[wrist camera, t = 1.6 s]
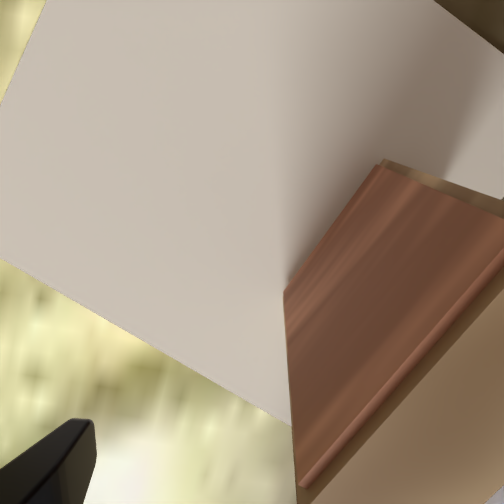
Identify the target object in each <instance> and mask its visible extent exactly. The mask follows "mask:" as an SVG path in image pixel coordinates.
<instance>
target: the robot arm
mask: <svg viewBox="0 0 504 504" xmlns="http://www.w3.org/2000/svg"><path fill="white" fill-rule="evenodd" d="M96 458H97V450H96V439H95V428H94V423H93V421H92V420H90V419H79V418H72V419H69V420H68V421H66V422H65V423H63V424H62V425H61V426H59V427H58V428H56V429H55V430H54V431H52V432H51V433H50V434H48V435H47V436H45V437H44V438H43V439H41V440H40V441H38V442H37V443H36V444H34V445H33V446H31V447H30V448H29V449H27V450H26V451H24V452H23V453H22V454H20V455H19V456H18V457H16V458H15V459H13V460H12V461H11V462H9V463H8V464H6V465H5V466H4V467H2V468H1V469H0V504H83V502H84V499H85V496H86V493H87V490H88V486H89V483H90V480H91V477H92V474H93V471H94V467H95V464H96Z"/></svg>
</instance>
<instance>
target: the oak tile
mask: <svg viewBox="0 0 504 504" xmlns="http://www.w3.org/2000/svg"><path fill="white" fill-rule="evenodd" d="M283 311H284V325H285V339H286V353H287V368H288V382H289V396H290V410H291V425H292V439H293V453H294V467H295V482H296V496H297V504H484V503H485V502H486V501H487V500H488V499H489V498H490V497H492V496H493V495H494V494H495V493H496V492H497V491H498V490H499V489H500V488H501V487H502V486H503V485H504V201H503V200H500V199H497V198H494V197H491V196H488V195H486V194H483V193H480V192H477V191H474V190H472V189H469V188H466V187H463V186H460V185H458V184H455V183H452V182H449V181H446V180H443V179H441V178H438V177H435V176H432V175H429V174H427V173H424V172H421V171H418V170H415V169H413V168H410V167H407V166H404V165H401V164H398V163H396V162H393V161H390V160H387V159H383V160H382V162H381V163H380V164H379V165H378V164H376V165H375V166H374V168H373V169H372V170H371V172H370V173H369V174H368V176H367V177H366V179H365V180H364V181H363V183H362V184H361V185H360V187H359V188H358V190H357V191H356V192H355V194H354V195H353V196H352V198H351V199H350V201H349V202H348V203H347V205H346V206H345V207H344V209H343V210H342V212H341V213H340V214H339V216H338V217H337V218H336V220H335V221H334V223H333V224H332V225H331V227H330V228H329V229H328V231H327V232H326V234H325V235H324V236H323V238H322V239H321V240H320V242H319V243H318V245H317V246H316V247H315V249H314V250H313V251H312V253H311V254H310V256H309V257H308V258H307V260H306V261H305V262H304V264H303V265H302V267H301V268H300V269H299V271H298V272H297V273H296V275H295V276H294V278H293V279H292V280H291V282H290V283H289V284H288V286H287V287H286V288H285V290H284V291H283Z"/></svg>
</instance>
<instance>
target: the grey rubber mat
mask: <svg viewBox="0 0 504 504" xmlns="http://www.w3.org/2000/svg"><path fill="white" fill-rule="evenodd" d="M383 159H387V160H390V161H393V162H396V163H398V164H401V165H404V166H407V167H410V168H413V169H415V170H418V171H421V172H424V173H427V174H429V175H432V176H435V177H438V178H441V179H443V180H446V181H449V182H452V183H455V184H458V185H460V186H463V187H466V188H469V189H472V190H474V191H477V192H480V193H483V194H486V195H488V196H491V197H494V198H497V199H500V200H501V199H502V198H503V197H504V54H503V53H501V52H500V51H499V50H498V49H496V48H495V47H494V46H492V45H491V44H490V43H488V42H487V41H486V40H485V39H483V38H482V37H481V36H479V35H478V34H477V33H475V32H474V31H473V30H471V29H470V28H469V27H468V26H466V25H465V24H464V23H462V22H461V21H460V20H458V19H457V18H456V17H455V16H453V15H452V14H451V13H449V12H448V11H447V10H445V9H444V8H443V7H441V6H440V5H439V4H438V3H436V2H435V1H434V0H47V1H46V3H45V5H44V8H43V10H42V12H41V14H40V17H39V19H38V21H37V24H36V26H35V28H34V30H33V33H32V35H31V37H30V39H29V42H28V44H27V46H26V48H25V51H24V53H23V55H22V57H21V60H20V62H19V64H18V66H17V69H16V71H15V73H14V75H13V78H12V80H11V82H10V84H9V87H8V89H7V91H6V93H5V96H4V98H3V100H2V102H1V105H0V258H1V259H3V260H4V261H6V262H8V263H10V264H11V265H13V266H15V267H16V268H18V269H20V270H22V271H23V272H25V273H27V274H29V275H30V276H32V277H34V278H35V279H37V280H39V281H41V282H42V283H44V284H46V285H48V286H49V287H51V288H53V289H54V290H56V291H58V292H60V293H61V294H63V295H65V296H66V297H68V298H70V299H72V300H73V301H75V302H77V303H79V304H80V305H82V306H84V307H85V308H87V309H89V310H91V311H92V312H94V313H96V314H98V315H99V316H101V317H103V318H104V319H106V320H108V321H110V322H111V323H113V324H115V325H117V326H118V327H120V328H122V329H123V330H125V331H127V332H129V333H130V334H132V335H134V336H135V337H137V338H139V339H141V340H142V341H144V342H146V343H148V344H149V345H151V346H153V347H154V348H156V349H158V350H160V351H161V352H163V353H165V354H167V355H168V356H170V357H172V358H173V359H175V360H177V361H179V362H180V363H182V364H184V365H186V366H187V367H189V368H191V369H192V370H194V371H196V372H198V373H199V374H201V375H203V376H204V377H206V378H208V379H210V380H211V381H213V382H215V383H217V384H218V385H220V386H222V387H223V388H225V389H227V390H229V391H230V392H232V393H234V394H236V395H237V396H239V397H241V398H242V399H244V400H246V401H248V402H249V403H251V404H253V405H254V406H256V407H258V408H260V409H261V410H263V411H265V412H267V413H268V414H270V415H272V416H273V417H275V418H277V419H279V420H280V421H282V422H284V423H286V424H287V425H289V426H291V427H292V425H291V410H290V396H289V382H288V368H287V353H286V339H285V325H284V311H283V291H284V290H285V288H286V287H287V286H288V284H289V283H290V282H291V280H292V279H293V278H294V276H295V275H296V273H297V272H298V271H299V269H300V268H301V267H302V265H303V264H304V262H305V261H306V260H307V258H308V257H309V256H310V254H311V253H312V251H313V250H314V249H315V247H316V246H317V245H318V243H319V242H320V240H321V239H322V238H323V236H324V235H325V234H326V232H327V231H328V229H329V228H330V227H331V225H332V224H333V223H334V221H335V220H336V218H337V217H338V216H339V214H340V213H341V212H342V210H343V209H344V207H345V206H346V205H347V203H348V202H349V201H350V199H351V198H352V196H353V195H354V194H355V192H356V191H357V190H358V188H359V187H360V185H361V184H362V183H363V181H364V180H365V179H366V177H367V176H368V174H369V173H370V172H371V170H372V169H373V168H374V166H375V165H376V164H378V165H379V164H380V163H381V162H382V160H383Z"/></svg>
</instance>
